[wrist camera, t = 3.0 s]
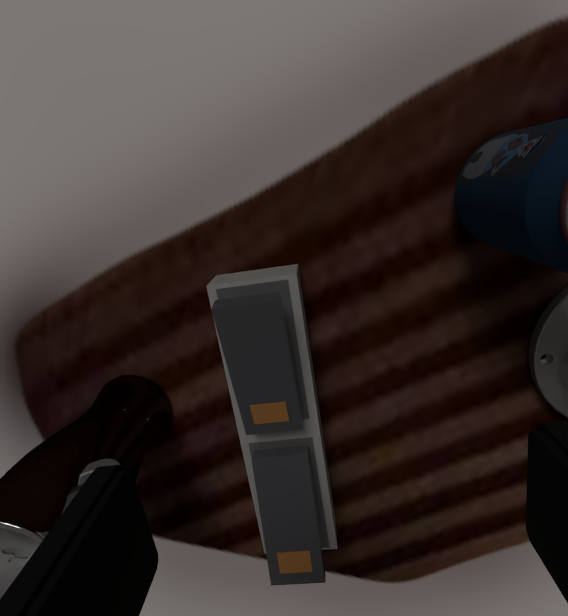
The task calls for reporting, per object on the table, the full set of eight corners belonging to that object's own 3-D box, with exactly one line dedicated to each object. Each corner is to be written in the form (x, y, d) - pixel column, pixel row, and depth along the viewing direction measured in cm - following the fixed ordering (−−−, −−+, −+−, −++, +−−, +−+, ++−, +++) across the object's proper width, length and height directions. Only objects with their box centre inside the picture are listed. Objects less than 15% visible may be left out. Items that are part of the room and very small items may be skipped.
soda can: (543, 246, 28) (706, 294, 16) (439, 239, 28) (527, 282, 17) (571, 135, 25) (782, 101, 14) (459, 129, 26) (575, 91, 14)
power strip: (216, 275, 30) (205, 286, 27) (297, 264, 29) (296, 273, 26) (268, 523, 36) (264, 554, 34) (335, 519, 36) (337, 549, 33)
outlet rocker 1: (279, 291, 24) (278, 301, 23) (303, 417, 29) (303, 431, 28) (215, 300, 25) (210, 310, 24) (248, 422, 29) (246, 436, 28)
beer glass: (164, 453, 35) (62, 645, 21) (86, 426, 35) (-72, 601, 20) (187, 386, 33) (91, 548, 18) (104, 356, 32) (-59, 498, 18)
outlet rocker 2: (307, 445, 30) (307, 454, 28) (325, 569, 31) (325, 583, 30) (253, 450, 30) (250, 459, 29) (273, 572, 31) (271, 586, 30)
